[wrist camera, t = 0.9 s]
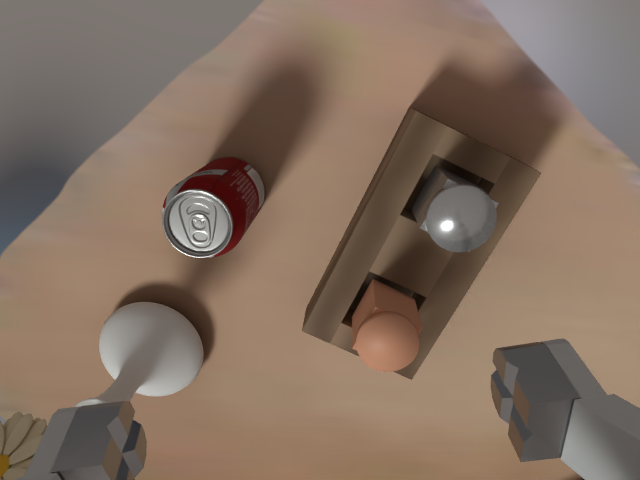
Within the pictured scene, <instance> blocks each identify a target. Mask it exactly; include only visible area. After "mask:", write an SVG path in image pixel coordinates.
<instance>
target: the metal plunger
mask: <svg viewBox="0 0 640 480" xmlns="http://www.w3.org/2000/svg"><path fill="white" fill-rule="evenodd" d="M498 204H499V203H498V202H497V201H496V200H495V199H493V198H492V197H491V196H490V195H489V194H488V193H487V192H486V191H485V190H483V189H482V188H481V187H480V186H478V185H476V184H474V183H472V182H470V181H468V180H466V179H464V178H462V177H460V176H458V175H456V174H453V173H451V172H449V171H447V170H445V169H443V168H441V167H439V166H437V165H435V167H434V168H433V170H432V172H431V174H430V176H429V177H428V179H427V181H426V183H425V185H424V187H423V188H422V190H421V192H420V194H419V196H418V197H417V199H416V201H415V203H414V205H413V207H412V208H411V209H412V212H413V214H414V216H415V219H416V221H417V223H418V226H419V228H420V229H422V230H424V231H426V232H428V233H429V234H430V236H431V238H432V239H433V240H434V242H435V243H436V244H437V245H439V246H440V247H442V248H444V249H446V250H448V251H452V252H466V251H468V252H470V250H473V249H475V248H477V247H479V246H481V245H482V244H483V243H485V242H486V241H487V240H488V239H489V237H490V236H491V234H492V233H493V231H494V228H495V226H496V221H497V213H496V207H497V206H498Z"/></svg>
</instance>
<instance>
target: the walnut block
mask: <svg viewBox="0 0 640 480" xmlns="http://www.w3.org/2000/svg"><path fill="white" fill-rule="evenodd" d="M435 165H437V166H439V167H441V168H443V169H445V170H447V171H449V172H451V173H453V174H456V175H458V176H460V177H462V178H464V179H466V180H468V181H470V182H472V183H474V184H476V185H478V186H480V187H481V188H482V189H483V190H485V191H486V192H487V193H488V194H489V195H490V196H491V197H492V198H493V199H495V200H496V201H497V202H498V203H499V204H498V206H497V207H496V213H497V221H496V226H495V228H494V231H493V233H492V234H491V236H490V237H489V239H488V240H487V241H486V242H485V243H483V244H482V245H481V246H479V247H477V248H475V249H473V250H470V252H468V251H466V252H452V251H448V250H446V249H444V248H442V247H440V246H439V245H437V244H436V243H435V242H434V240H433V239H432V238H431V236H430V234H429V233H428V232H426V231H424V230H422V229H420V228H419V226H418V223H417V221H416V219H415V216H414V214H413V212H412V209H411V208H412V207H413V205H414V203H415V201H416V199H417V197H418V196H419V194H420V192H421V190H422V188H423V187H424V185H425V183H426V181H427V179H428V177H429V176H430V174H431V172H432V170H433V168H434V167H435ZM540 174H541V172H539V171H537V170H535V169H533V168H531V167H529V166H528V165H526V164H524V163H522V162H520V161H518V160H516V159H514V158H512V157H510V156H508V155H506V154H504V153H502V152H500V151H498V150H496V149H494V148H492V147H490V146H488V145H486V144H484V143H482V142H480V141H477V140H475V139H473V138H471V137H469V136H467V135H465V134H463V133H461V132H459V131H457V130H455V129H453V128H451V127H449V126H447V125H445V124H443V123H441V122H439V121H437V120H435V119H433V118H431V117H429V116H427V115H425V114H423V113H421V112H419V111H417V110H415V109H413V108H411V107H409V109H408V110H407V112H406V114H405V116H404V118H403V120H402V122H401V124H400V126H399V128H398V130H397V132H396V134H395V136H394V138H393V140H392V142H391V144H390V146H389V148H388V150H387V152H386V153H385V155H384V157H383V159H382V161H381V163H380V165H379V167H378V169H377V171H376V173H375V175H374V177H373V179H372V181H371V183H370V185H369V187H368V189H367V191H366V193H365V195H364V196H363V198H362V200H361V202H360V204H359V206H358V208H357V210H356V212H355V214H354V216H353V218H352V220H351V222H350V224H349V226H348V228H347V230H346V232H345V234H344V236H343V238H342V239H341V241H340V243H339V245H338V247H337V249H336V251H335V253H334V255H333V257H332V259H331V261H330V263H329V265H328V267H327V269H326V271H325V273H324V275H323V277H322V279H321V281H320V282H319V284H318V286H317V288H316V290H315V292H314V294H313V296H312V298H311V300H310V302H309V304H308V306H307V308H306V313H305V318H304V323H303V328H302V331H303V332H305V333H308V334H310V335H312V336H314V337H317V338H319V339H321V340H323V341H326V342H328V343H330V344H332V345H335V346H337V347H339V348H341V349H344V350H346V351H348V352H350V353H353V354H355V355H357V356H359V354H358V352H357V350H354V349H352V316H353V314H354V312H355V310H356V308H357V306H358V305H359V303H360V301H361V299H362V297H363V296H364V294H365V292H366V290H367V288H368V286H369V285H370V283H371V281H372V279H374V280H376V281H379V282H381V283H383V284H385V285H387V286H389V287H392V288H394V289H396V290H398V291H400V292H402V293H405V294H407V295H409V296H411V297H413V298H414V299H415V303H416V306H417V310H418V314H419V317H420V321H421V325H422V330H421V332H420V333H419V335H418V337H419V351H418V353H417V355H416V357H415V359H414V360H413V361H412V362H411V363H410V364H409V365H408V366H406V367H404V368H402V369H400V370H397V371H393V372H395V373H398V374H400V375H402V376H404V377H407V378H409V379H411V380H412V378H413V377H414V375H415V374H416V372H417V370H418V369H419V367H420V366H421V364H422V362H423V361H424V359H425V358H426V356H427V355H428V353H429V351H430V350H431V348H432V347H433V345H434V343H435V342H436V340H437V339H438V337H439V335H440V334H441V332H442V331H443V329H444V327H445V326H446V324H447V323H448V321H449V319H450V318H451V316H452V315H453V313H454V311H455V310H456V308H457V307H458V305H459V304H460V302H461V300H462V299H463V297H464V296H465V294H466V292H467V291H468V289H469V288H470V286H471V284H472V283H473V281H474V280H475V278H476V276H477V275H478V273H479V272H480V270H481V268H482V267H483V265H484V264H485V262H486V260H487V259H488V257H489V256H490V254H491V253H492V251H493V249H494V248H495V246H496V245H497V243H498V241H499V240H500V238H501V237H502V235H503V233H504V232H505V230H506V229H507V227H508V225H509V224H510V222H511V221H512V219H513V217H514V216H515V214H516V213H517V211H518V209H519V208H520V206H521V205H522V203H523V202H524V200H525V198H526V197H527V195H528V194H529V192H530V190H531V189H532V187H533V186H534V184H535V182H536V181H537V179H538V178H539V176H540ZM359 357H360V356H359Z"/></svg>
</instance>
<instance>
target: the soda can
mask: <svg viewBox="0 0 640 480" xmlns="http://www.w3.org/2000/svg"><path fill="white" fill-rule="evenodd" d="M264 198H265V189H264V184H263V181H262V178H261V177H260V175H259V173H258V172H257V171H256V169H255V168H254V167H253V166H251V165H250V164H249V163H247V162H245V161H243V160H241V159H238V158H234V157H223V158H219V159H216V160H214V161H212V162H210V163H209V164H207V165H206V166H204V167H202V168H201V169H199V170H198V171H196V172H195V173H193V174H192V175H190V176H188V177H187V178H185V179H184V180H182V181H181V182H179V183H178V184H176V185H175V186H174V187H173V188H172V189H171V190H170V192H169V193H168V195H167V197H166V199H165V201H164V205H163V213H162V215H163V217H162V225H163V229H164V233H165V235H166V237H167V239H168V240H169V242H170V243H171V244H172V245H173V246H174V247H175V248H176V249H177V250H178V251H180V252H181V253H183V254H185V255H188V256H191V257H196V258H206V257H216V256H220V255H223V254H225V253H227V252H229V251H230V250H231V249H233V248H234V247H235V246H236V245H237V244H238V242H239V241H240V240H241V238H242V237H243V235H244V234H245V232H246V230H247V229H248V227H249V226H250V224H251V223H252V221H253V220H254V218H255V217H256V215H257V214H258V212H259V211H260V209H261V207H262V205H263V202H264Z"/></svg>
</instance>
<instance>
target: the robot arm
mask: <svg viewBox="0 0 640 480" xmlns="http://www.w3.org/2000/svg"><path fill="white" fill-rule="evenodd" d="M493 363H494V365H495V367H496V369H497V370H496V371H495V372H494V373H493V374H492V375H491V392H492V398H493V401H494V404H495V408H496V410H497V412H498V414H499V417H500V418H501V419H503V420H504V421H506V422H507V423H508V424H509V431H508V436H509V438H510V440H511V442H512V445H513V447H514V449H515V451H516V453H517V455H518V457H519V459H520V461H521V462H526V461H535V460H544V459H553V458H561V460H562V461H563V462H564V463H565V464H567V465H568V466H569V467H570V468H571V469H573V470H574V471H575V472H576V473H577V474H579V475H580V476H581V477H582V478H583V479H585V480H640V408H638V407H636V406H635V405H633V404H631V403H629V402H627V401H626V400H624V399H622V398H620V397H618V396H617V395H615V394H613V395H607V394H606V392H605V391H604V390H603V388H602V387H601V386H600V384H599V383H598V381H597V380H596V379H595V377H594V376H593V375H592V373H591V372H590V371H589V369H588V368H587V366H586V365H585V364H584V362H583V361H582V360H581V358H580V357H579V355H578V354H577V353H576V351H575V350H574V349H573V347H572V346H571V344H570V343H569V342H568V341H567V340H565V339H564V338H563V339H556V340H550V341H543V342H535V343H528V344H522V345H515V346H509V347H502V348H496V349H495V351H494V353H493ZM134 413H135V410H134V408H133V406H132V404H131V403H130V401H120V402H111V403H102V404H94V405H85V406H79V407H71V408H62V409H58V410H57V411H56V412H55V413H54V414H53V415H52V417H51V419H50V421H49V424H48V426H47V428H46V430H45V432H44V434H43V437H42V439H41V441H40V443H39V445H38V447H37V449H36V452H35V454H34V456H33V458H32V460H31V462H30V465H29V467H28V469H27V471H26V473H25V475H24V477H22V478H16V479H15V480H135V479H134V478H135V477H136V476H137V475H138V473H139V472H140V471H141V470H142V469H143V468H144V464H145V459H146V447H147V441H146V436H145V432H144V429H143V427H142V425H141V424H140V423H138V422H136V421H134V420H133V417H134Z"/></svg>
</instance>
